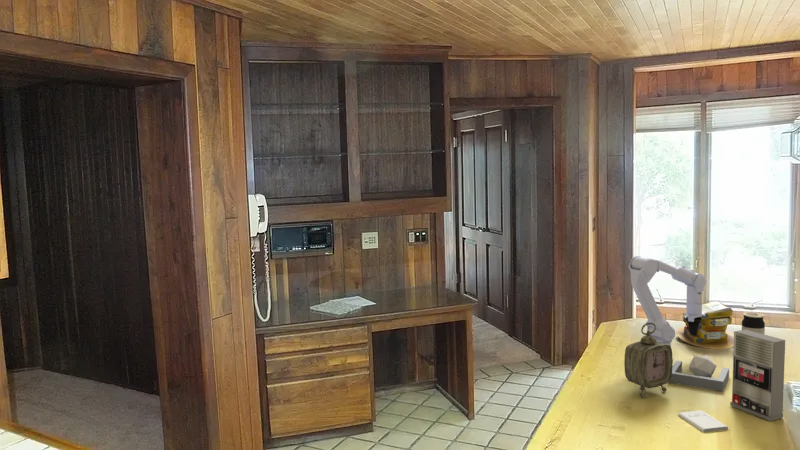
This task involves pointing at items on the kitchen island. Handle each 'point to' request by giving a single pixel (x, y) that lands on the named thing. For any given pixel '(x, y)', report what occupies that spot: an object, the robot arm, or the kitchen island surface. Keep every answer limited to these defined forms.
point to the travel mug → (753, 322)
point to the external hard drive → (703, 421)
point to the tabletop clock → (648, 362)
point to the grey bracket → (699, 378)
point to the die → (702, 366)
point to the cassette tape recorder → (758, 374)
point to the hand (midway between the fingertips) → (693, 335)
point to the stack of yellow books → (710, 328)
